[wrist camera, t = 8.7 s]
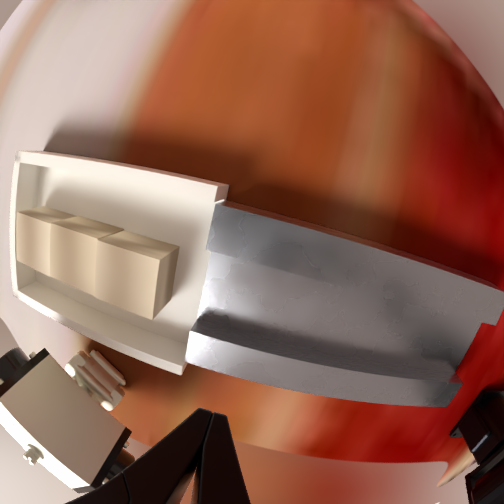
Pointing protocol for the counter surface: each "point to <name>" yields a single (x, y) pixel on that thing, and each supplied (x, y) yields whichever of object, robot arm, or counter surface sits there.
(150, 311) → the block
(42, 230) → the block
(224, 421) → the robot arm
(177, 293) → the tray
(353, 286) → the slot rail
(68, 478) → the pneumatic valve
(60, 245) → the block
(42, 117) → the counter surface
